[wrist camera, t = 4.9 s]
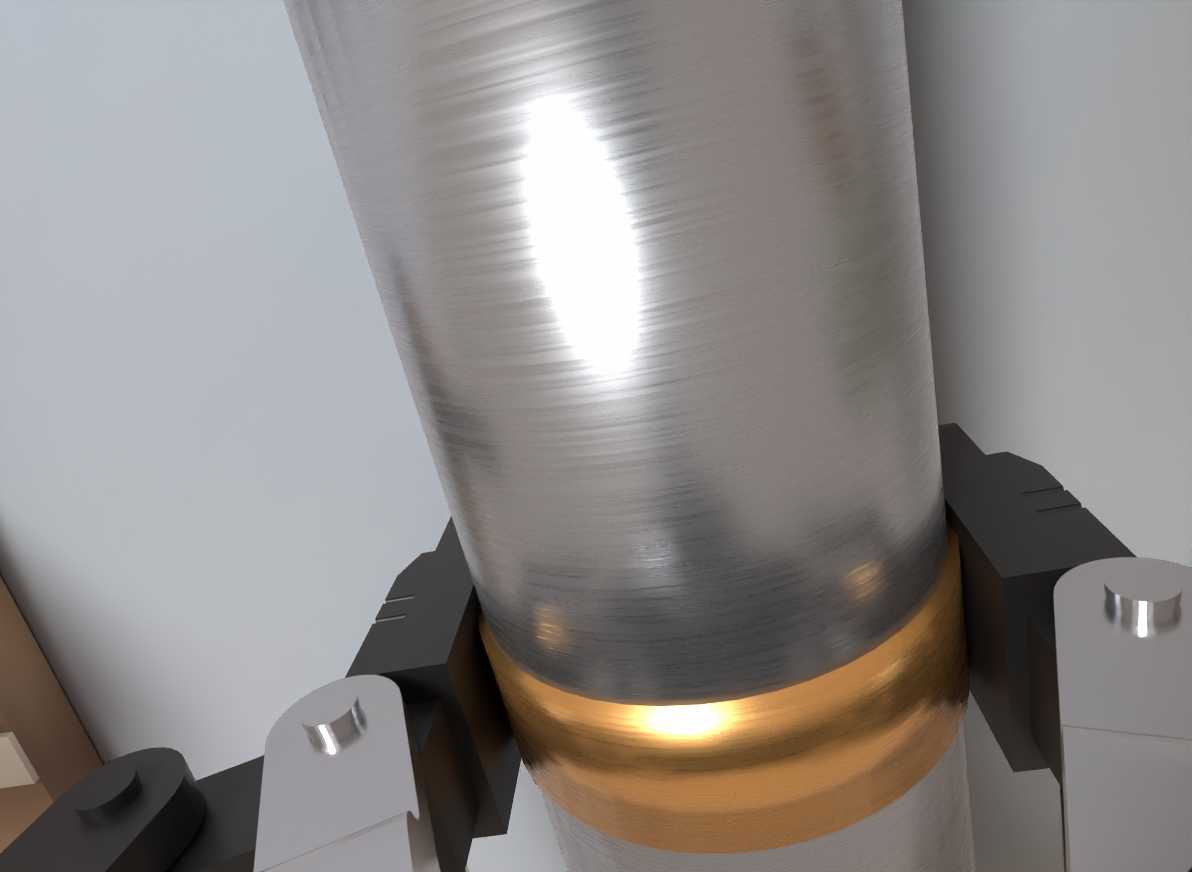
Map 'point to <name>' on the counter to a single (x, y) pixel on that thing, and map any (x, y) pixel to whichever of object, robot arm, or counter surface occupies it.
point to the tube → (676, 408)
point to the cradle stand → (33, 729)
